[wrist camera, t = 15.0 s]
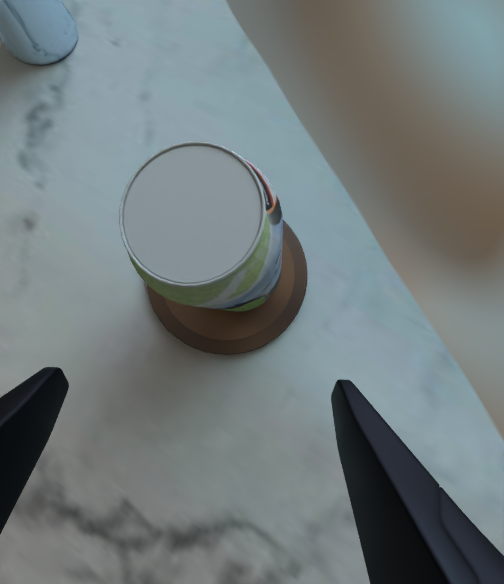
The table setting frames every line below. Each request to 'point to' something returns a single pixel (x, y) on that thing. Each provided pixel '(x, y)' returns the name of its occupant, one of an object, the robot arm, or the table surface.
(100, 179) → the table surface
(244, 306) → the beverage can
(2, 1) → the beer glass
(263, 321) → the coaster
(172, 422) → the table surface
